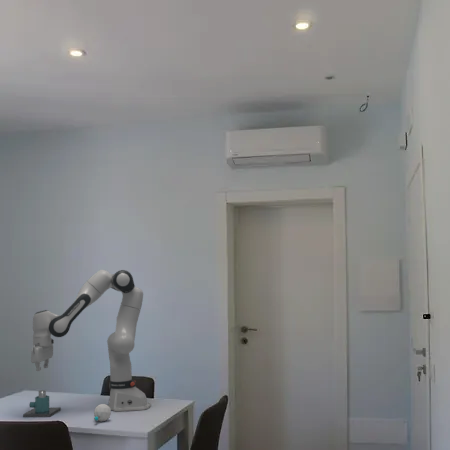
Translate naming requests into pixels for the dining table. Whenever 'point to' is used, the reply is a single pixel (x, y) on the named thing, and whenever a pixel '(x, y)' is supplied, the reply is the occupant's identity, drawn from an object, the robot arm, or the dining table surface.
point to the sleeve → (40, 404)
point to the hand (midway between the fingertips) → (42, 369)
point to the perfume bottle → (102, 412)
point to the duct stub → (42, 414)
